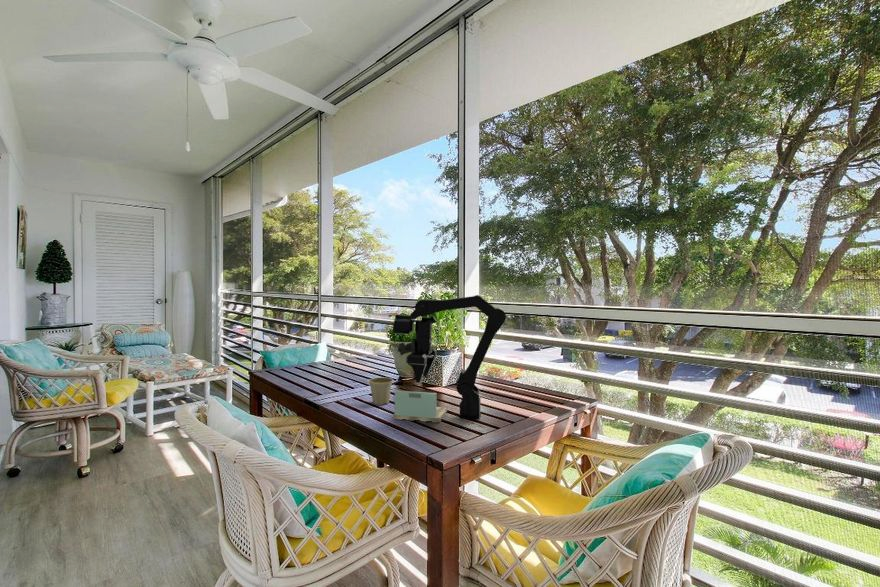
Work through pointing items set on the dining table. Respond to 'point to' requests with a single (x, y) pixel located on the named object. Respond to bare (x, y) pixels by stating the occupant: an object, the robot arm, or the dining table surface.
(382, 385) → the flower pot
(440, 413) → the beige flat block
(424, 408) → the panel
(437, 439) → the dining table surface
